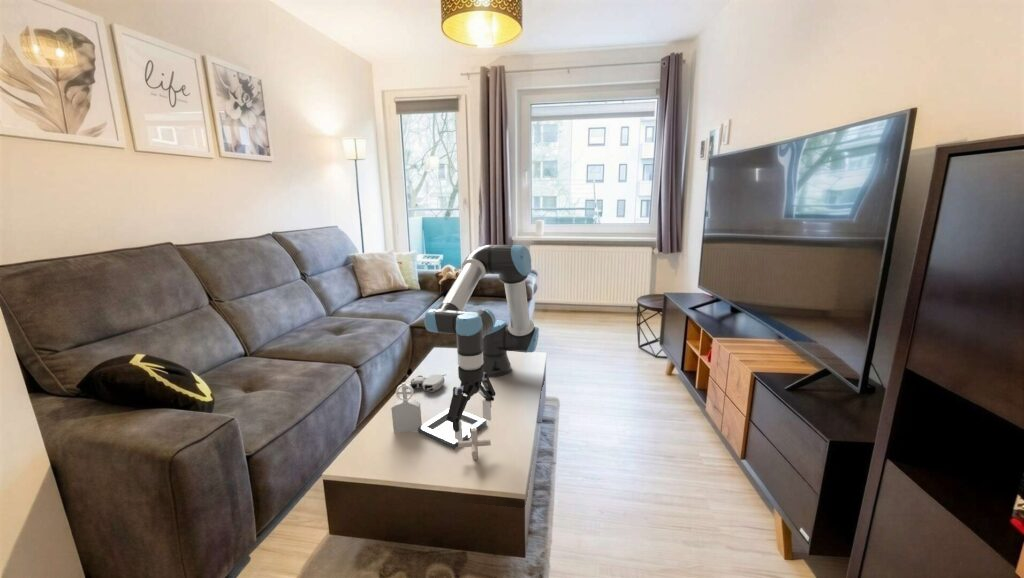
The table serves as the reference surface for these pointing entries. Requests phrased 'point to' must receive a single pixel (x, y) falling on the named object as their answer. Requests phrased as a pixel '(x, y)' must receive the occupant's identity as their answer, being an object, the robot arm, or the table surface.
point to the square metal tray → (450, 428)
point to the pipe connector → (474, 443)
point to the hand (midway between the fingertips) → (473, 429)
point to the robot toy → (428, 382)
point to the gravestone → (406, 411)
